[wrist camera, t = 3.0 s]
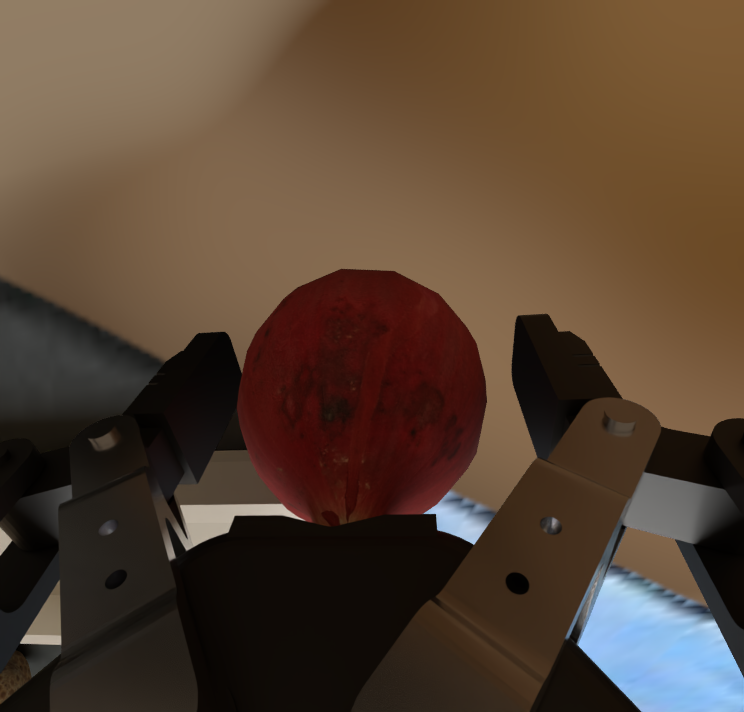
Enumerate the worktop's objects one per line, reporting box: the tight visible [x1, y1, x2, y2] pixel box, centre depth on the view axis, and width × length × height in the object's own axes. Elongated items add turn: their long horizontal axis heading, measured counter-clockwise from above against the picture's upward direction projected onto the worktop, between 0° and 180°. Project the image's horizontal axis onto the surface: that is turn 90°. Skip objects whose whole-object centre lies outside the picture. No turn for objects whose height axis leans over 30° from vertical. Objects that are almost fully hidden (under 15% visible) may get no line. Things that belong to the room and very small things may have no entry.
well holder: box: [0, 450, 305, 645], centre depth 20 cm, size 11×21×3 cm, turn 96°
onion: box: [237, 269, 487, 526], centre depth 10 cm, size 6×6×8 cm
